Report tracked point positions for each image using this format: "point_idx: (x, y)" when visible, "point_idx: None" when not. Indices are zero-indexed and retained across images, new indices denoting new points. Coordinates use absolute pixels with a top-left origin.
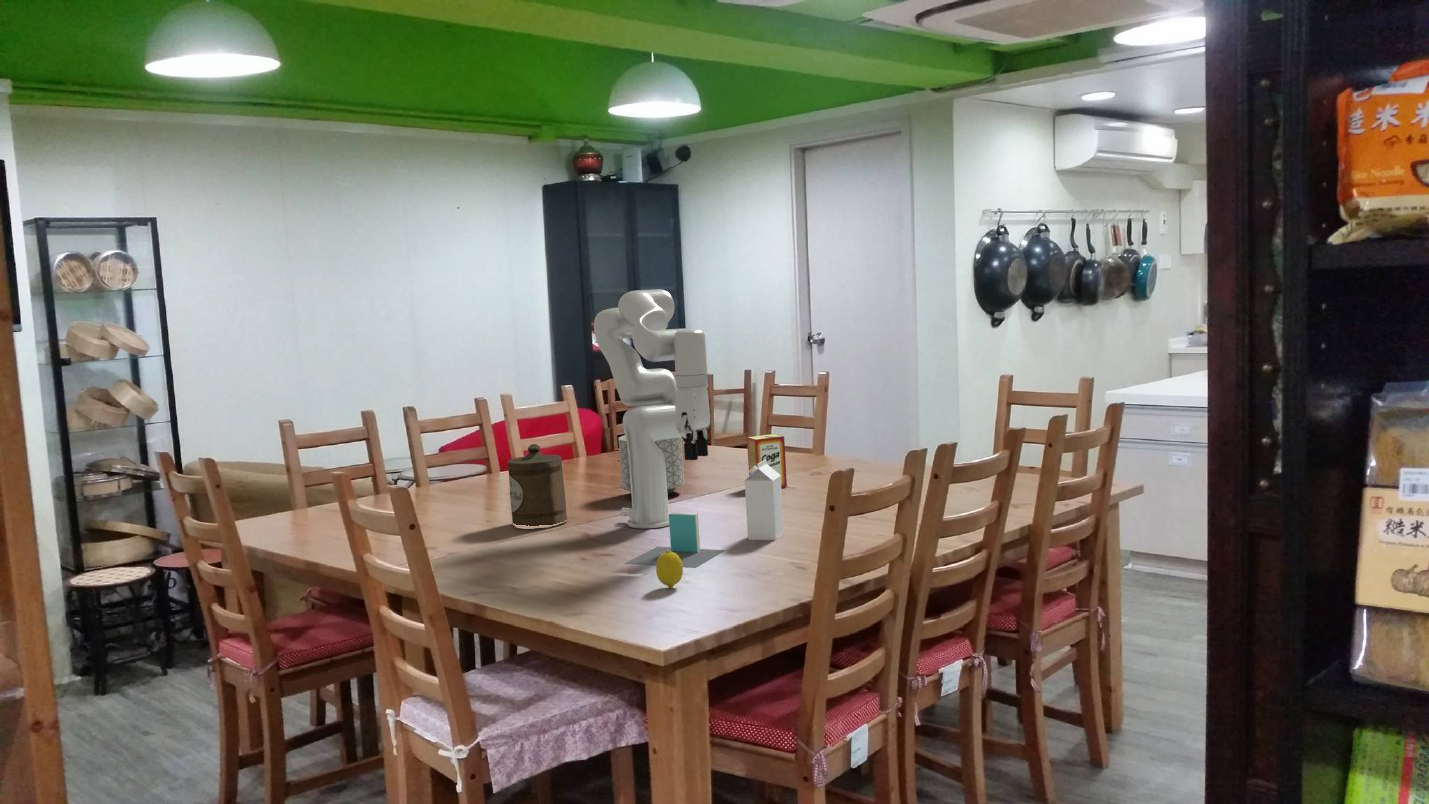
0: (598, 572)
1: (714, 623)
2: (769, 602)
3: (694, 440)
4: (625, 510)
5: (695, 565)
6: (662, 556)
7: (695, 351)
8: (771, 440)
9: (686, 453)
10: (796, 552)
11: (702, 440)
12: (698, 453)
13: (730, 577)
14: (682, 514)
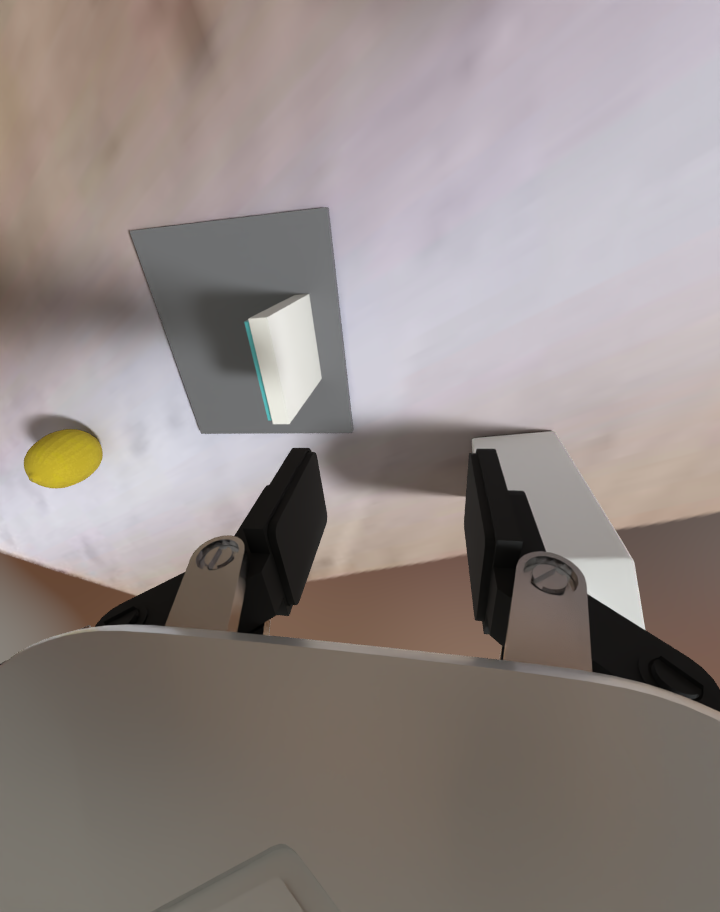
0: (50, 192)
1: (43, 550)
2: (142, 579)
3: (262, 628)
4: None
5: (213, 425)
6: (24, 468)
7: None
8: None
9: (260, 496)
10: (396, 550)
11: (476, 605)
12: (469, 484)
13: (203, 503)
14: (262, 375)
